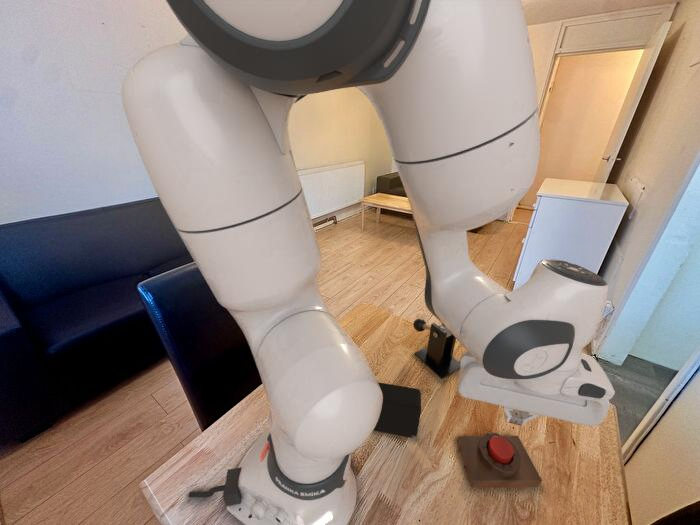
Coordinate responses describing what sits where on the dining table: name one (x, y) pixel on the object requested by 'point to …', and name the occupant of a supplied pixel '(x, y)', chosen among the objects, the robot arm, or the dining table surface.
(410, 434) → the electronic device
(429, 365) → the bracket
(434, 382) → the dining table surface
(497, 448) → the button
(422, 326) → the lever
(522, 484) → the button block
